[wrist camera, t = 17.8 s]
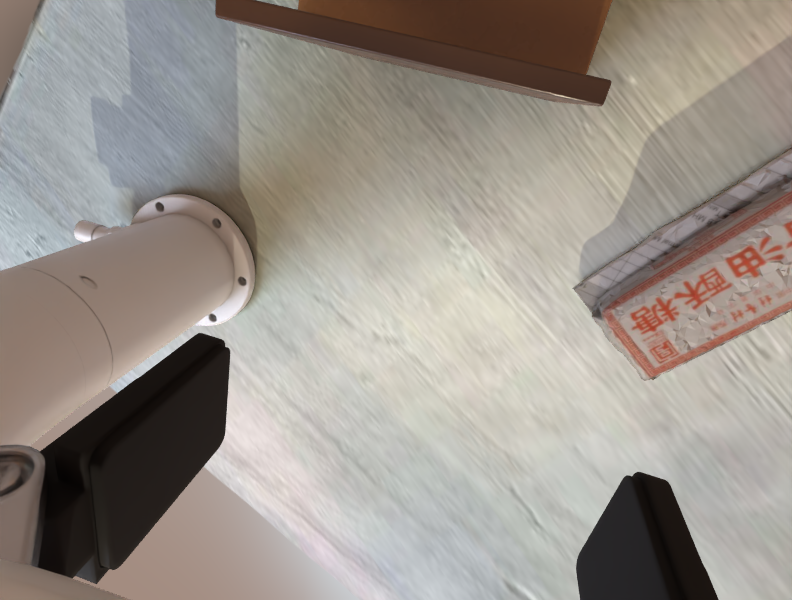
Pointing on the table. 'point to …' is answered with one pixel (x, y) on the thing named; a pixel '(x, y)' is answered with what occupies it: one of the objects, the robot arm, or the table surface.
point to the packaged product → (701, 276)
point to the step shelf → (455, 38)
